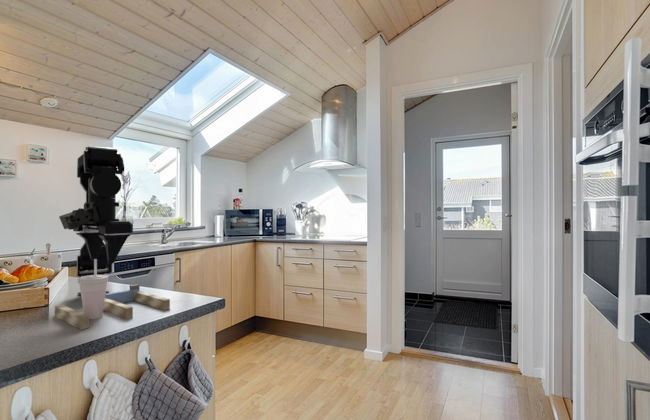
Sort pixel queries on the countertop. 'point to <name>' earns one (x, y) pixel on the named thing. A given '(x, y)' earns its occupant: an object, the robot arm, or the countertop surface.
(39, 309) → the countertop surface
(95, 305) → the smoothie
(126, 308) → the divider rack
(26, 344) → the countertop surface
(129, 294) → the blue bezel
